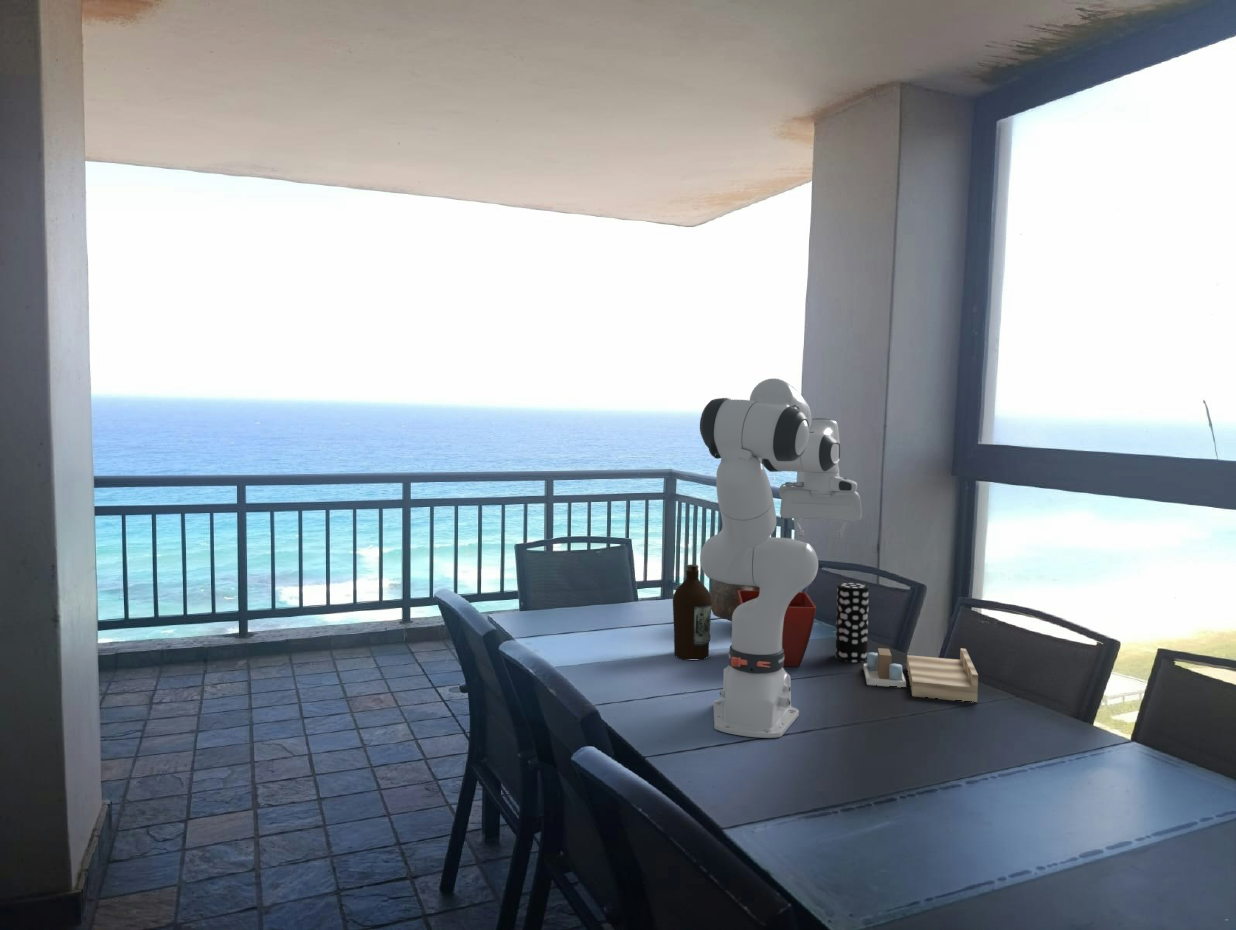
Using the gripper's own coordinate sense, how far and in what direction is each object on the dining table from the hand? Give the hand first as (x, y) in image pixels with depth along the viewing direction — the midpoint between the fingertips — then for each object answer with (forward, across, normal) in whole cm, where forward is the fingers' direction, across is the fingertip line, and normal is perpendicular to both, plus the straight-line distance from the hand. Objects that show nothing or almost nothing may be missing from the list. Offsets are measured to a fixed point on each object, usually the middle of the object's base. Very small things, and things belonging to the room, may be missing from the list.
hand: (820, 536), depth 199 cm
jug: (+36, -23, +37) cm, 56 cm away
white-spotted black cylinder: (+36, +8, +16) cm, 40 cm away
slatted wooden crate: (+35, +29, -1) cm, 46 cm away
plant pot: (+36, -12, +8) cm, 38 cm away
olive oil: (+35, -34, +4) cm, 49 cm away
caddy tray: (+36, +16, 0) cm, 39 cm away
